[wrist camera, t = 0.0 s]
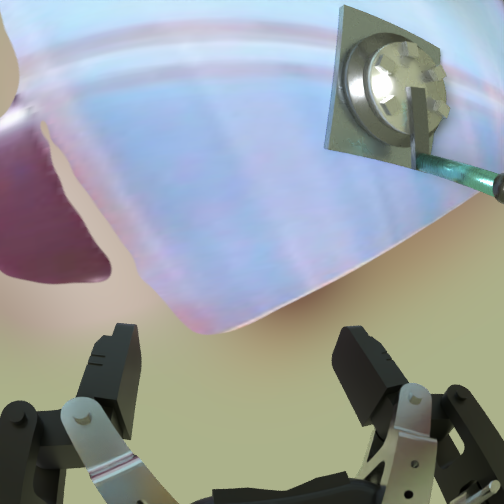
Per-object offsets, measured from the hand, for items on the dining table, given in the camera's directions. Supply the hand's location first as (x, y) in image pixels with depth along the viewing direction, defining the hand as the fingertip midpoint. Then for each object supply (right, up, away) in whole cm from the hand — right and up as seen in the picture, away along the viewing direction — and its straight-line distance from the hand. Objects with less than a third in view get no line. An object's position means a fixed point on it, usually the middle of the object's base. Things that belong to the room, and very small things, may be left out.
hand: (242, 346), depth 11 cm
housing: (+20, +27, +24) cm, 41 cm away
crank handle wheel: (+21, +23, +22) cm, 38 cm away
